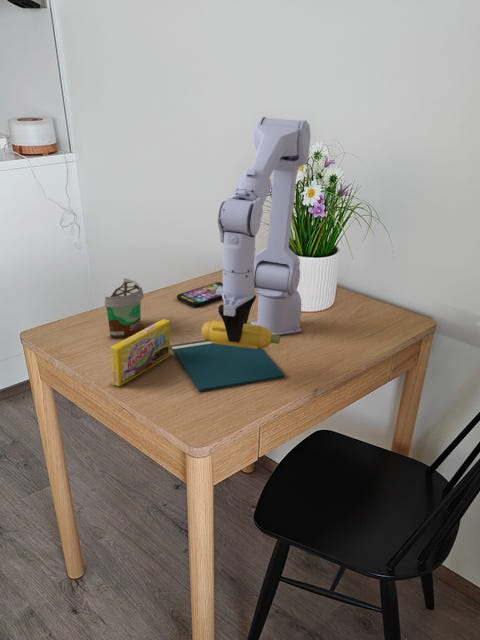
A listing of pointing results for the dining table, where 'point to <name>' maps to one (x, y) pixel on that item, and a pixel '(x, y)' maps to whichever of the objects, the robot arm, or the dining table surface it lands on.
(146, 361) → the candy box
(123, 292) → the food container
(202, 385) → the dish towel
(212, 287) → the smartphone
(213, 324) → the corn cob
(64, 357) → the dining table surface
